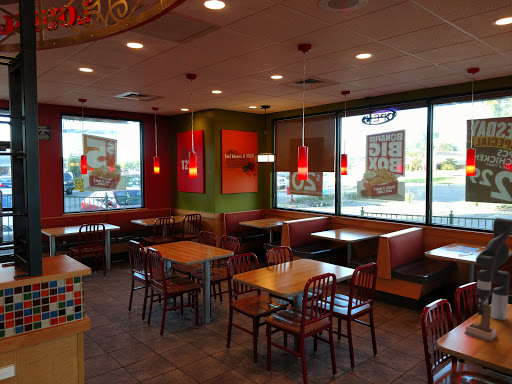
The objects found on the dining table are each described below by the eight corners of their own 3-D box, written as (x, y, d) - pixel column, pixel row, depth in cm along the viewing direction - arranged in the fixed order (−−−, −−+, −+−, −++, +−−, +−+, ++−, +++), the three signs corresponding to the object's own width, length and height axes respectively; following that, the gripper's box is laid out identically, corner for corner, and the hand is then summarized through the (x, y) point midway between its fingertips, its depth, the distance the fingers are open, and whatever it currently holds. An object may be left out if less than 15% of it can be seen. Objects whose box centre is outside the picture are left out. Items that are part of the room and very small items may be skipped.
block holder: (470, 328, 249) (471, 321, 249) (496, 336, 238) (497, 329, 238) (464, 333, 241) (464, 326, 240) (491, 342, 230) (492, 334, 230)
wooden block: (471, 332, 241) (473, 304, 239) (473, 330, 244) (475, 302, 243) (488, 336, 235) (490, 308, 234) (489, 334, 238) (491, 306, 237)
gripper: (480, 283, 245) (478, 308, 246) (473, 288, 235) (471, 314, 236) (494, 286, 240) (492, 311, 241) (487, 291, 230) (485, 317, 231)
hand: (482, 312), depth 239 cm, fingers open, 8 cm apart
